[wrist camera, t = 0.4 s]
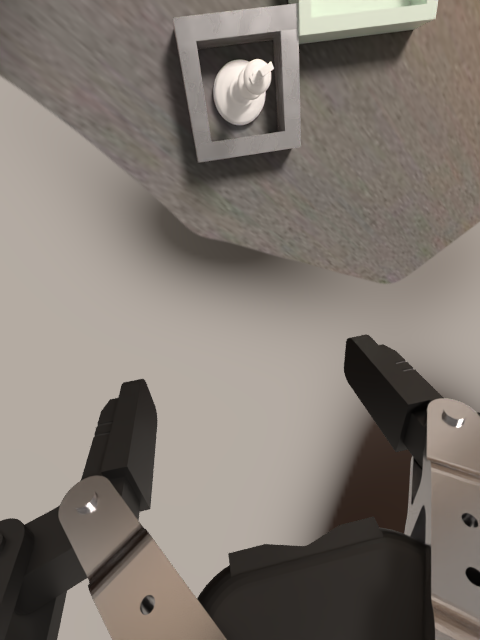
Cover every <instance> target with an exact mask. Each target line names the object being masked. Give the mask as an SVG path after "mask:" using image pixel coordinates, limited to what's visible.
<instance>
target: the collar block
mask: <svg viewBox="0 0 480 640" xmlns="http://www.w3.org/2000/svg"><path fill="white" fill-rule="evenodd" d="M173 25H174V33H175V38H176V44H177V50H178V55H179V61H180V66H181V72H182V78H183V83H184V89H185V95H186V100H187V106H188V111H189V117H190V123H191V128H192V134H193V140H194V145H195V151H196V156H197V162H198V163H199V162H206V161H212V160H219V159H225V158H232V157H238V156H245V155H252V154H258V153H265V152H271V151H278V150H284V149H291V148H297V147H301V130H300V80H299V31H298V3H296V4H287V5H279V6H270V7H261V8H253V9H244V10H235V11H227V12H218V13H210V14H201V15H192V16H184V17H175V18H173ZM270 40H273V51H274V70H275V88H276V107H277V126H278V132H275V133H268V134H261V135H255V136H248V137H241V138H234V139H228V140H221V141H214V142H211V136H210V129H209V123H208V116H207V109H206V103H205V96H204V90H203V83H202V76H201V70H200V63H199V57H198V50H197V49H205V48H214V47H222V46H230V45H238V44H246V43H254V42H262V41H270Z"/></svg>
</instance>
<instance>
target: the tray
mask: <svg viewBox="0 0 480 640" xmlns="http://www.w3.org/2000/svg"><path fill="white" fill-rule="evenodd" d="M296 3H298V31H299V44H305V43H313V42H321V41H329V40H337V39H345V38H352V37H360V36H368V35H376V34H384V33H392V32H400V31H408V30H414V29H416V28H418V27H420V26H422V25H424V24H426V23H428V22H430V21H432V20H434V19H435V18H436V11H437V5H438V0H288V4H296Z"/></svg>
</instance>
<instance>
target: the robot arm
mask: <svg viewBox="0 0 480 640" xmlns="http://www.w3.org/2000/svg"><path fill="white" fill-rule="evenodd" d="M344 373H345V376H346V379H347V381H348V383H349V385H350V386H351V387H352V389H353V390H354V392H355V393H356V395H357V396H358V398H359V399H360V400H361V402H362V403H363V405H364V406H365V408H366V409H367V410H368V412H369V414H370V415H371V417H372V418H373V419H374V421H375V422H376V424H377V425H378V427H379V428H380V430H381V431H382V432H383V434H384V435H385V437H386V438H387V440H388V441H389V443H390V444H391V446H392V447H393V449H394V450H395V451H396V452H398V451H403V450H407V449H408V450H409V451H410V453H411V454H412V459H411V471H410V489H409V505H408V515H407V521H406V526H405V533H404V534H403V533H400V532H397V531H394V530H389V529H384V528H379V526H378V524H377V522H376V520H375V519H374V517H371V518H367V519H363V520H359V521H355V522H351V523H347V524H343V525H339V526H338V527H336V528H334V529H333V530H331V531H330V532H328V533H327V534H325V535H323V536H322V537H320V538H319V539H317V540H316V541H314V542H312V543H311V544H309V545H307V546H287V545H269V544H264V545H260V546H256V547H252V548H248V549H244V550H241V551H237V552H233V553H229V563H230V565H229V566H228V567H226V568H225V569H223V570H222V571H221V572H220V573H218V574H217V575H216V576H215V577H214V578H213V579H212V580H211V581H210V582H209V583H208V584H207V585H206V587H205V588H204V589H203V591H202V592H201V593H200V595H199V597H198V598H196V597H195V595H194V594H193V593H192V592H191V590H190V589H189V587H188V586H187V585H186V583H185V582H184V580H183V579H182V578H181V577H180V575H179V574H178V572H177V571H176V569H175V568H174V567H173V565H172V564H171V563H170V561H169V560H168V559H167V557H166V556H165V555H164V553H163V552H162V550H161V549H160V548H159V546H158V545H157V543H156V542H155V541H154V539H153V538H152V537H151V535H150V534H149V533H148V532H147V530H146V529H144V528H143V526H142V525H141V524H140V522H139V521H138V519H139V512H140V511H144V510H148V509H150V504H151V492H152V481H153V468H154V456H155V444H156V432H157V413H156V408H155V405H154V402H153V400H152V397H151V394H150V392H149V389H148V387H147V384H146V382H145V380H144V379H139V380H135V381H130V382H124V383H123V384H122V386H121V390H120V395H119V398H115V399H110V400H109V402H108V403H107V405H106V406H105V407H104V409H103V410H102V411H101V414H100V417H99V421H98V427H97V428H96V431H95V437H94V438H93V441H92V445H91V448H90V452H89V455H88V459H87V462H86V466H85V469H84V472H83V476H82V479H81V481H80V482H78V483H77V484H76V485H75V486H73V487H72V488H71V489H70V490H69V491H68V493H67V494H66V495H65V497H64V498H63V500H62V502H61V504H60V506H58V507H57V508H55V509H53V510H52V511H50V512H48V513H46V514H44V515H42V516H40V517H38V518H36V519H35V520H33V521H31V522H29V523H27V524H25V525H24V524H23V523H22V522H21V521H19V520H18V519H6V520H2V521H0V640H57V636H58V631H59V627H60V622H61V617H62V612H63V607H64V603H65V598H66V593H67V590H69V589H70V588H72V587H73V586H75V585H76V584H78V583H80V582H81V581H83V580H84V579H86V578H88V579H89V583H90V584H89V585H88V588H89V591H90V594H91V596H92V598H93V601H94V603H95V605H96V607H97V609H98V610H99V613H100V615H101V617H102V619H103V621H104V623H105V625H106V627H107V630H108V631H109V634H110V636H111V638H112V640H480V413H477V412H475V411H474V410H473V409H472V408H471V407H469V406H468V405H466V404H464V403H462V402H459V401H456V400H452V399H447V398H443V397H442V396H441V395H440V394H439V393H438V392H437V391H436V390H435V389H434V388H433V387H432V386H431V385H430V384H429V383H428V382H427V381H426V380H425V379H424V378H423V377H422V376H421V375H420V374H419V373H418V372H417V371H416V370H413V367H412V366H411V365H409V363H408V362H405V359H404V358H402V356H400V355H399V354H398V353H397V352H396V351H395V350H393V349H391V348H389V347H387V346H385V345H378V344H377V343H376V342H375V341H374V340H373V339H372V338H371V337H370V336H369V335H362V336H357V337H352V338H348V339H347V341H346V350H345V362H344Z"/></svg>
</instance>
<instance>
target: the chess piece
mask: <svg viewBox="0 0 480 640" xmlns="http://www.w3.org/2000/svg"><path fill="white" fill-rule="evenodd" d="M273 69H274V67H273V64H272V62H269V63H268V64H267V63H266V62H264V61H263V60H261V59H254V60H252V61H250V62H249V61H246V60H242V59H238V60H233V61H230V62H228V63H227V64H225V65H224V66H223V67H222V68H221V69H220V71H219V72H218V74H217V76H216V79H215V82H214V87H213V96H214V102H215V105H216V108H217V110H218V112H219V113H220V115H221V116H222V117H223V118H224V119H225V120H226V121H228V122H230V123H232V124H235V125H245V124H248V123H250V122H252V121H253V120H254V119H255V118H256V117H257V116H258V115H259V113H260V112H261V110H262V108H263V105H264V102H265V96H266V90H267V89H268V87H269V85H270V82H271V71H272V70H273Z"/></svg>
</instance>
